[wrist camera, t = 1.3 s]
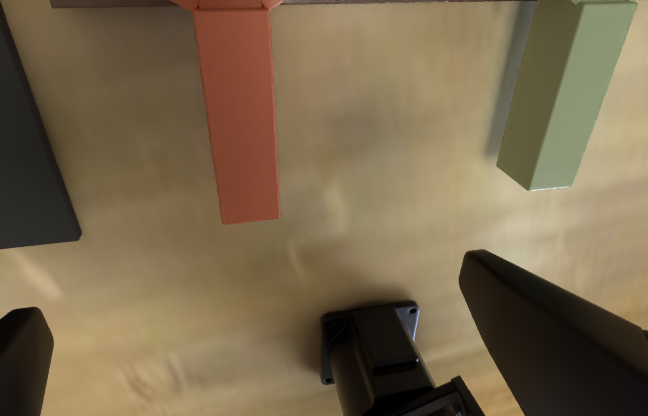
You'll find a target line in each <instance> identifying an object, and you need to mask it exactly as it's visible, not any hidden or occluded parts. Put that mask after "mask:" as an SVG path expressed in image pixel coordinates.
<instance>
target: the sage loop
mask: <svg viewBox="0 0 648 416" xmlns="http://www.w3.org/2000/svg"><path fill="white" fill-rule="evenodd" d="M634 1H635V0H537V3H536V7H535V11H534V15H533V19H532V23H531V27H530V31H529V35H528V39H527V43H526V47H525V51H524V55H523V59H522V63H521V67H520V71H519V76H518V80H517V84H516V88H515V92H514V96H513V100H512V104H511V108H510V112H509V116H508V120H507V124H506V128H505V132H504V136H503V140H502V144H501V148H500V152H499V156H498V161H497V167H498V168H500V169H501V170H502V171H503V172H505V173H506V174H507V175H508V176H510V177H511V178H512V179H513V180H515V181H516V182H517V183H518V184H520V185H521V186H522V187H524V188H525V189H526V190H527V191H536V190H545V189H554V188H563V187H571V186H572V185H573V182H574V179H575V177H576V174H577V171H578V168H579V166H580V163H581V160H582V157H583V155H584V152H585V149H586V146H587V144H588V141H589V138H590V135H591V132H592V130H593V127H594V124H595V121H596V119H597V116H598V113H599V110H600V108H601V105H602V102H603V99H604V97H605V94H606V91H607V88H608V85H609V83H610V80H611V77H612V74H613V72H614V69H615V66H616V63H617V61H618V58H619V55H620V52H621V50H622V47H623V44H624V41H625V38H626V36H627V33H628V30H629V27H630V25H631V22H632V19H633V16H634V14H635V11H636V8H637V5H638V3H636V2H634Z"/></svg>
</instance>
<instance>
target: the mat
mask: <svg viewBox="0 0 648 416" xmlns="http://www.w3.org/2000/svg"><path fill="white" fill-rule="evenodd" d="M81 234H82V233H81V230H80V227H79V225H78V222H77V219H76V216H75V213H74V211H73V208H72V205H71V202H70V199H69V196H68V194H67V191H66V188H65V185H64V182H63V180H62V177H61V174H60V171H59V168H58V166H57V163H56V160H55V157H54V154H53V152H52V149H51V146H50V143H49V140H48V138H47V135H46V132H45V129H44V126H43V124H42V121H41V118H40V115H39V112H38V110H37V107H36V104H35V101H34V98H33V96H32V93H31V90H30V87H29V84H28V82H27V79H26V76H25V73H24V70H23V68H22V65H21V62H20V59H19V56H18V54H17V51H16V48H15V45H14V42H13V39H12V37H11V34H10V31H9V28H8V25H7V23H6V20H5V17H4V14H3V11H2V9H1V6H0V249H7V248H16V247H25V246H34V245H43V244H52V243H61V242H70V241H78V240H79V239H80V237H81Z"/></svg>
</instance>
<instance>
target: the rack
mask: <svg viewBox="0 0 648 416" xmlns="http://www.w3.org/2000/svg"><path fill="white" fill-rule="evenodd" d="M485 1H537V0H285V1H283V2H282V3H280V4H279V5H296V4H359V3H422V2H485ZM50 3H51V6H52V8H108V7H171V6H180V5H178V4H176V3H174V2H172V1H170V0H50Z"/></svg>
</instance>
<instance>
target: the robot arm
mask: <svg viewBox="0 0 648 416" xmlns="http://www.w3.org/2000/svg"><path fill="white" fill-rule="evenodd" d="M459 286H460V289H461V291H462V294H463V296H464V298H465V301H466V303H467V305H468V307H469V310H470V312H471V314H472V317H473V319H474V321H475V324H476V326H477V328H478V330H479V333H480V335H481V337H482V339H483V341H484V344H485V345H486V347H487V349H488V351H489V353H490V355H491V357H492V358H493V360H494V362H495V364H496V365H497V367H498V369H499V371H500V372H501V374H502V376H503V378H504V379H505V381H506V383H507V385H508V387H509V388H510V390H511V392H512V394H513V395H514V397H515V399H516V401H517V402H518V404H519V406H520V408H521V409H522V411H523V413H524V415H525V416H648V331H647V330H642V328H641V327H639V326H637V325H635V324H633V323H631V322H629V321H627V320H625V319H623V318H621V317H619V316H617V315H615V314H613V313H611V312H609V311H607V310H605V309H603V308H601V307H599V306H597V305H595V304H593V303H591V302H589V301H587V300H585V299H583V298H581V297H579V296H577V295H575V294H573V293H571V292H569V291H567V290H565V289H563V288H561V287H559V286H557V285H555V284H553V283H551V282H549V281H547V280H545V279H543V278H541V277H539V276H537V275H535V274H533V273H531V272H529V271H527V270H525V269H523V268H521V267H519V266H517V265H515V264H513V263H511V262H509V261H507V260H505V259H503V258H501V257H499V256H497V255H495V254H493V253H491V252H489V251H487V250H484V249H479V250H471V251H468V252H466V253H465V255H464V258H463V263H462V267H461V271H460V275H459ZM418 316H419V306H418V305H417V303H416V302H414V301H409V302H402V303H396V304H389V305H383V306H376V307H370V308H363V309H357V310H350V311H344V312H338V313H331V314H327V315H325V316H323V317H322V318H321V362H320V377H321V381H322V383H323V384H325V385H329V384H335V385H336V389H337V392H338V396H339V400H340V403H341V407H342V411H343V414H344V416H485V415H484V413H483V411H482V410H481V408H480V407H479V405H478V404H477V402H476V400H475V399H474V397H473V396H472V394H471V392H470V391H469V389H468V388H467V386H466V385H465V383H464V381H463V380H462V378H461V377H460V375H459V376H457V377H455V378H452V379H451V381H450V382H448V383H445V384H443V385H441V386H439V387H436V385H435V383H434V381H433V379H432V377H431V375H430V373H429V371H428V369H427V367H426V365H425V363H424V361H423V359H422V357H421V355H420V353H419V351H418V349H417V347H416V345H415V343H414V338H415V333H416V327H417V321H418ZM329 321H331V322H329ZM53 347H54V340H53V336H52V333H51V331H50V329H49V327H48V324H47V322H46V320H45V318H44V316H43V314H42V312H41V310H40V309H39V308H37V307H28V308H20V309H15V310H12V311H10V312H9V313H8V314H6V315H5V316H4V317H3V318H1V319H0V416H40V414H41V410H42V405H43V399H44V394H45V389H46V384H47V379H48V373H49V368H50V363H51V358H52V353H53Z"/></svg>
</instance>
